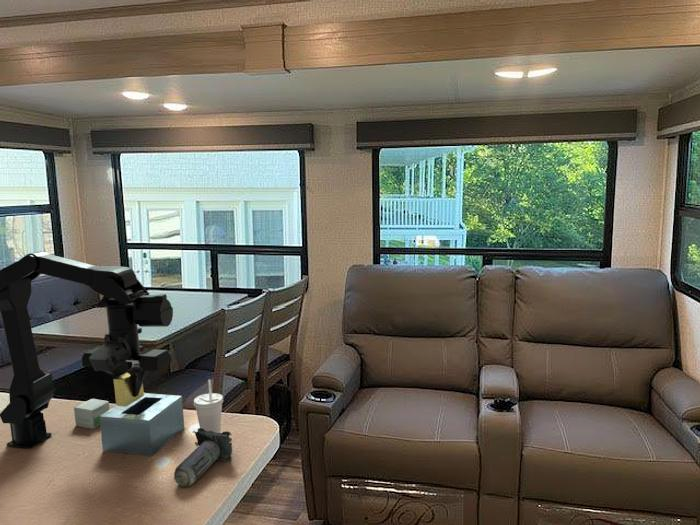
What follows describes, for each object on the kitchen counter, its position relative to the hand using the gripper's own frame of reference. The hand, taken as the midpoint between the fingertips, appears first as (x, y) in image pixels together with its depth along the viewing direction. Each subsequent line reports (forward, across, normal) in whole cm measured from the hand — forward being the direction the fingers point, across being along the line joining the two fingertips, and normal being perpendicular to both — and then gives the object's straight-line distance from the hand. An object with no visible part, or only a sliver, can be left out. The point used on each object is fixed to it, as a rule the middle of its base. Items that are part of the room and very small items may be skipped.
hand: (130, 395), depth 116 cm
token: (+1, 0, 0) cm, 1 cm away
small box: (+11, -17, +8) cm, 22 cm away
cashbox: (+11, +1, +2) cm, 12 cm away
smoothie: (+12, +16, +5) cm, 20 cm away
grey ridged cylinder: (+12, +20, -7) cm, 25 cm away
